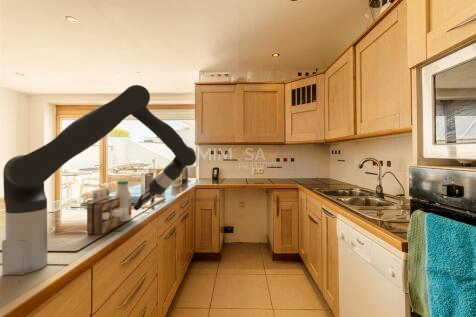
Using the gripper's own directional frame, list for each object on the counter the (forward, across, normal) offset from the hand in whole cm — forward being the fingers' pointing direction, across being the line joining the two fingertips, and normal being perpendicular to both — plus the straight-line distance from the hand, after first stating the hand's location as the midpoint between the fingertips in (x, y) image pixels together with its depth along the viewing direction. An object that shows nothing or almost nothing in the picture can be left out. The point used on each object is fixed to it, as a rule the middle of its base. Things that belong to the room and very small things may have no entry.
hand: (135, 208), depth 110 cm
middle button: (+9, +1, -4) cm, 9 cm away
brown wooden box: (+16, +2, -3) cm, 16 cm away
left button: (+11, +6, -6) cm, 14 cm away
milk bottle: (+16, -13, -2) cm, 20 cm away
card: (+8, +1, -13) cm, 15 cm away
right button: (+9, -3, -4) cm, 10 cm away
